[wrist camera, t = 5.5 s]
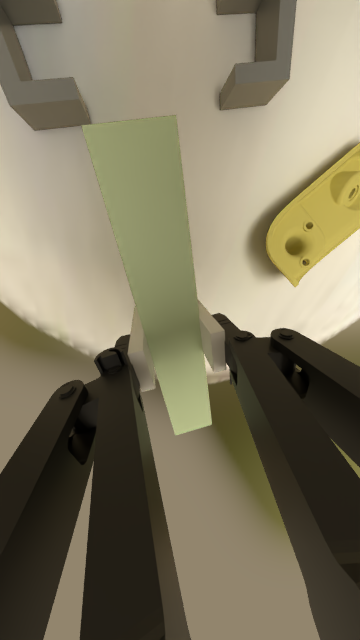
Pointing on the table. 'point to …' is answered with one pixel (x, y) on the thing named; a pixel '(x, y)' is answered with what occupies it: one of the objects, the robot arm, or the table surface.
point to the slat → (156, 252)
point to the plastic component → (317, 219)
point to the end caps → (63, 94)
